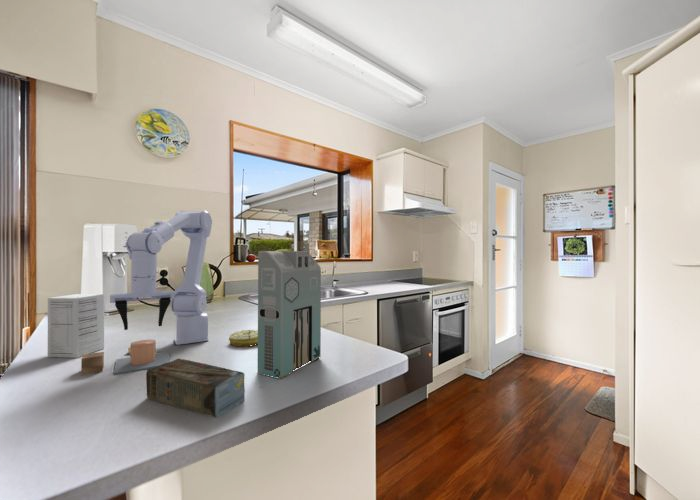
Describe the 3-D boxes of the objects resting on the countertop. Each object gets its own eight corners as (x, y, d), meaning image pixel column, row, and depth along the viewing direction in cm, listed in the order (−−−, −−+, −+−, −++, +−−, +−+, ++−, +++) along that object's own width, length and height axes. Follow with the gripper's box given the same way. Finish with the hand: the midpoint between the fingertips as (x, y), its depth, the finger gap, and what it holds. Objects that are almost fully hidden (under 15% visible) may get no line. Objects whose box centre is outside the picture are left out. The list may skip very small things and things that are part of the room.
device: (281, 379, 74) (282, 251, 74) (256, 373, 78) (257, 251, 78) (320, 359, 88) (321, 251, 89) (298, 355, 92) (299, 251, 92)
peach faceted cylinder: (154, 356, 89) (154, 338, 89) (155, 362, 84) (156, 343, 84) (130, 360, 86) (130, 341, 86) (130, 366, 81) (130, 346, 81)
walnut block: (103, 367, 82) (103, 351, 82) (102, 372, 79) (102, 355, 79) (83, 370, 80) (83, 354, 80) (81, 375, 76) (81, 358, 76)
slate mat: (167, 353, 93) (167, 351, 93) (170, 365, 83) (170, 363, 83) (116, 360, 87) (116, 359, 87) (113, 374, 77) (113, 372, 77)
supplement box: (105, 348, 98) (106, 293, 98) (76, 358, 88) (77, 297, 89) (77, 347, 99) (77, 293, 99) (45, 357, 89) (46, 297, 90)
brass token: (140, 350, 96) (140, 345, 96) (140, 353, 93) (140, 347, 93) (128, 352, 94) (128, 347, 94) (128, 355, 92) (128, 349, 92)
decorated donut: (242, 338, 111) (243, 327, 111) (269, 340, 108) (269, 329, 108) (222, 346, 101) (222, 334, 101) (251, 349, 98) (251, 337, 98)
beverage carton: (214, 420, 56) (214, 383, 56) (143, 400, 64) (143, 367, 64) (246, 401, 64) (246, 368, 64) (178, 385, 71) (179, 355, 71)
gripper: (109, 279, 78) (108, 334, 78) (176, 276, 86) (175, 326, 86) (111, 277, 84) (110, 328, 84) (173, 275, 92) (173, 322, 92)
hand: (143, 327), depth 86 cm, fingers open, 7 cm apart
